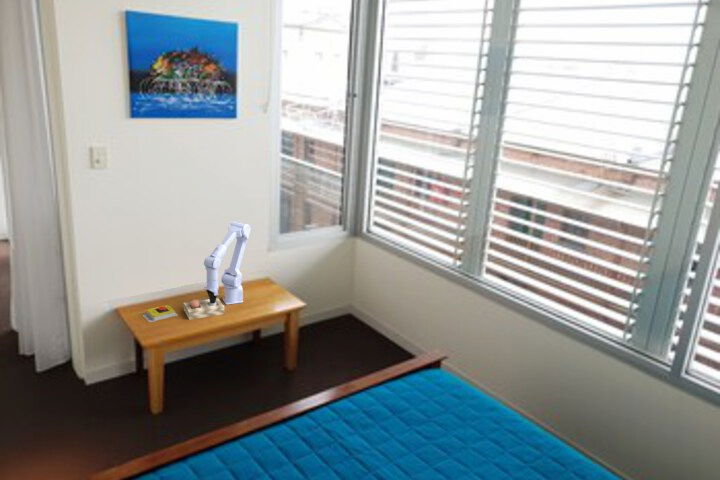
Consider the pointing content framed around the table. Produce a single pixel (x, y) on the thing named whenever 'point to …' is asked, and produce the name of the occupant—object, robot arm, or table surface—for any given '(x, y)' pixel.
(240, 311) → the table surface
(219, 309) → the button panel
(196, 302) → the terracotta button
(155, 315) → the emergency button
